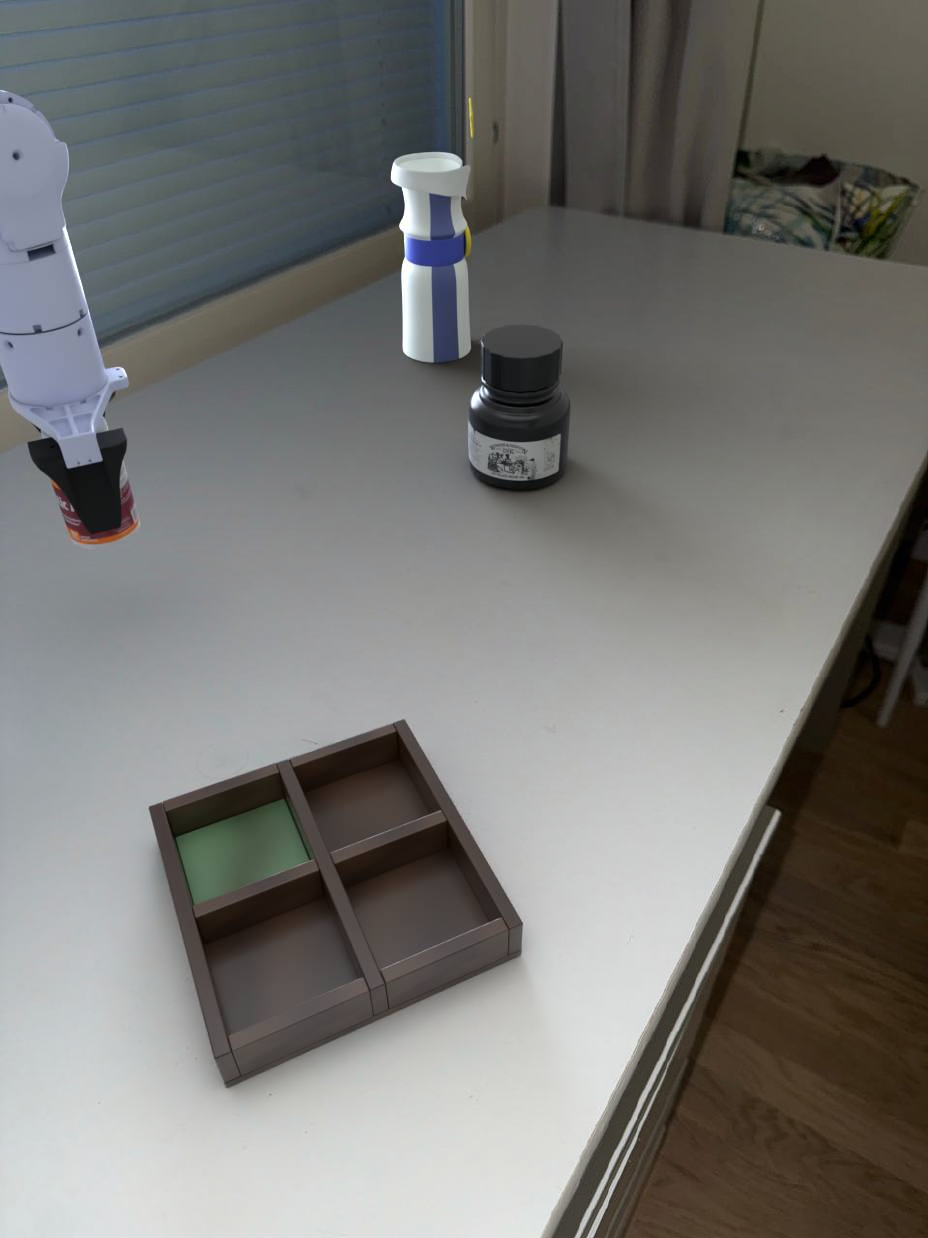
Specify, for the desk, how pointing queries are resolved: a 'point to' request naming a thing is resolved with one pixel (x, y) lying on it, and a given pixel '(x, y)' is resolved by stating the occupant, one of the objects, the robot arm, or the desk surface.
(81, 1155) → the desk surface
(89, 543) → the pill bottle
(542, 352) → the ink bottle
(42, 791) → the desk surface
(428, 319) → the water bottle
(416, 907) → the tray
